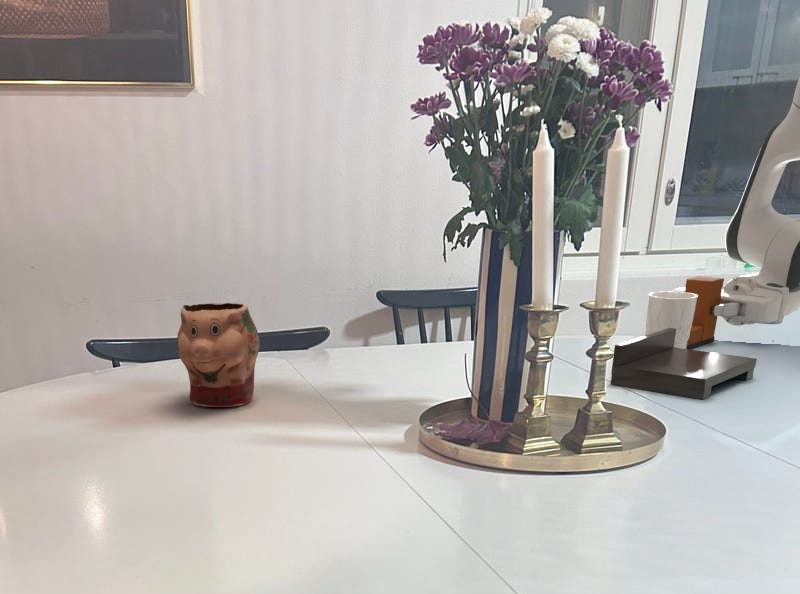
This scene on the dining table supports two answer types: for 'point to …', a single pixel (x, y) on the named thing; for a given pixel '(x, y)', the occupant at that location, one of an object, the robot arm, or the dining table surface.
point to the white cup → (671, 314)
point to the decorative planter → (218, 353)
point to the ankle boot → (703, 309)
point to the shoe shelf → (674, 366)
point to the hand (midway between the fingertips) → (697, 308)
